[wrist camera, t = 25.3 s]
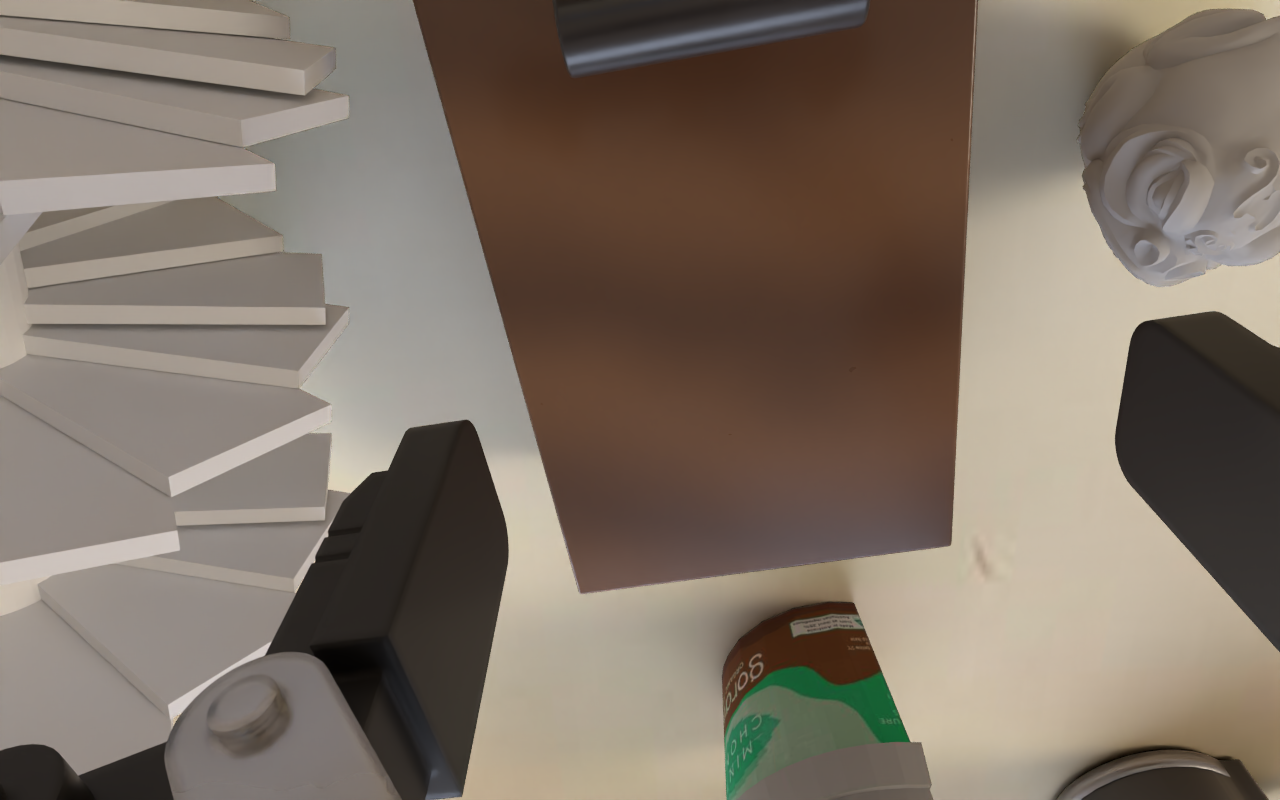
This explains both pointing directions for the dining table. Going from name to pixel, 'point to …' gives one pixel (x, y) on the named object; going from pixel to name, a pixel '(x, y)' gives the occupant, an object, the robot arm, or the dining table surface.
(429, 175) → the dining table surface
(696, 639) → the dining table surface
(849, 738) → the food container
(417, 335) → the dining table surface
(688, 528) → the chest lid
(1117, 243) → the grey rounded lumpy piece
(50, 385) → the spiral staircase
